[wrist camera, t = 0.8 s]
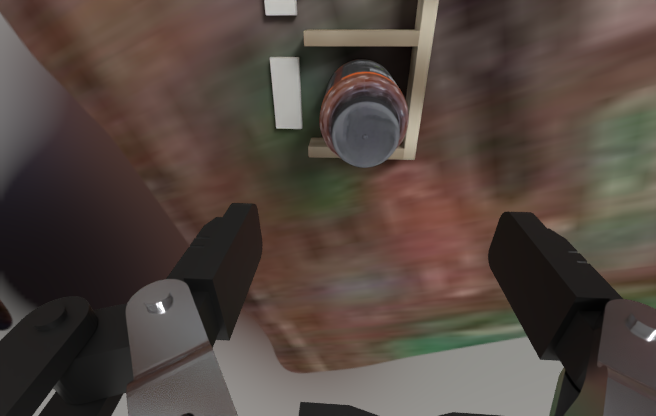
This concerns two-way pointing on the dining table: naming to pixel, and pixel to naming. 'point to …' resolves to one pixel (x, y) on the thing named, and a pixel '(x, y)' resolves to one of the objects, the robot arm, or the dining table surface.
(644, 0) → the dining table surface
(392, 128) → the supplement bottle
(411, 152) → the divider rack
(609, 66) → the dining table surface
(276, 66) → the bezel tiles
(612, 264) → the dining table surface
